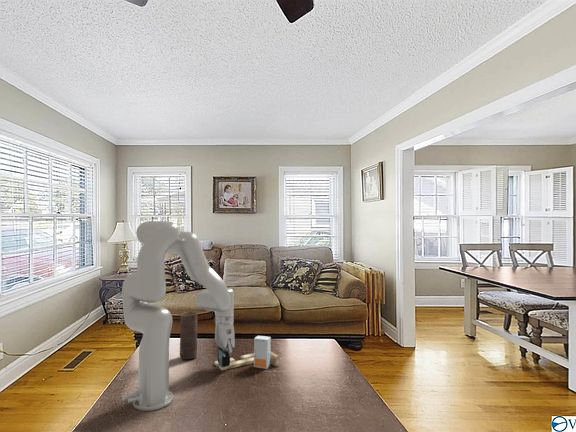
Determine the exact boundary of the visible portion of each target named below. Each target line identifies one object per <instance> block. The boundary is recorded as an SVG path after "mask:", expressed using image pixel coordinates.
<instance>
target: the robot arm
mask: <svg viewBox="0 0 576 432" xmlns="http://www.w3.org/2000/svg"><path fill="white" fill-rule="evenodd" d="M135 232H136V233H135V234H136V238H137V240H138V242H139V243H141V244H142V246H141V248H140V250H139V251H138V255H137V260H136V263H137V265H136V266H137V268H136V270H137V271H134V272H132V273H129V274H128V275H127V276H126V277H125V279H124V281H123V284H122V286H121V295H122V297H121V298H122V309H123V310H122V311H123V319H124V323H125V325H126V327H127V328H128V329H130V330H132V331H135V332H139V333H141V334H142V338H141V340H140V343H139V346H138V383H137V384H138V385H137V387H136V388H135V391H133V392H132V393H126V394H123V395H122V402H126V401H127V403H128V404H130V403H132V406H133V408H135V409H136V410H138V411H148V412H149V411H155V410H160V409H163V408H165V407H167V406H169V405H170V404H171V403H172V402H173V400H174V394H173V392H172V391H170V389H169V387H170V386H169V385H170V384H169V383H170V339H171V338H170V337H171V331H172V327H173V326H172V325H173V315H172V314H171V313H172V312H171V311H169V310H168V309H167V308H166V307H164V306H161V305H158V304H157V305H156V304H155V303H159V302H160V301H161V302H162V301H163V299H164V298H165V295H166V294H167V293H166V292H167V291H166V290H167V283H166V269H165V267H166V266H165V263H166V262H165V260H166V256H167V254H175V255H178V256H179V259H180V261H181V262H182V264H183V265H182V266H183V267H184V269H185V272H186V275H187V276H188V277H189V278H190V279H192V280H193V281H194V282H196V283H198V284H200V285H201V286H203V287H204V288H205V290H202V291H200V292H198V294H197V295H196V297H195V305H196V306H197V307H198V308H200V309H201V310H205V311H211V312H214V324H215V327H214V328H215V332H214V342H215V344H216V347H217V361H218V363H219V350H221V349H223V357H222V366H223V367H225V366H229V365H230V358H231V354H232V352H233V349H235V347H236V346H235V345H236V341H235V328H234V327H235V326H234V321H235V320H234V315H235V314H234V309H235V307H234V306H235V303H234V302H235V296H234V295H235V293H234V292H235V291H234V290H233V288H230V287H227V285H226V283H225V281H224V279H222V277H221V276H220V275H219V274H218V273H217V272H216V271H215V270H214V268H212V267H211V266H210V264H209V262H208V260H207V257H206V255H205V252H204V249H203V247H202V244H201V242H200V240H199V237H198V236H197V235H196V234H195V233H194V232H191V231H180V228H179V226H178V225H177V224H176V223H175V222H173V221H167V220H157V221H156V220H155V221H154V220H149V221H148V220H147V221H144V222H142V223H140V224H139V225H138V226H137V228H136V231H135ZM151 303H153V304H151ZM225 350H228V351H226V352H225Z"/></svg>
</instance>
